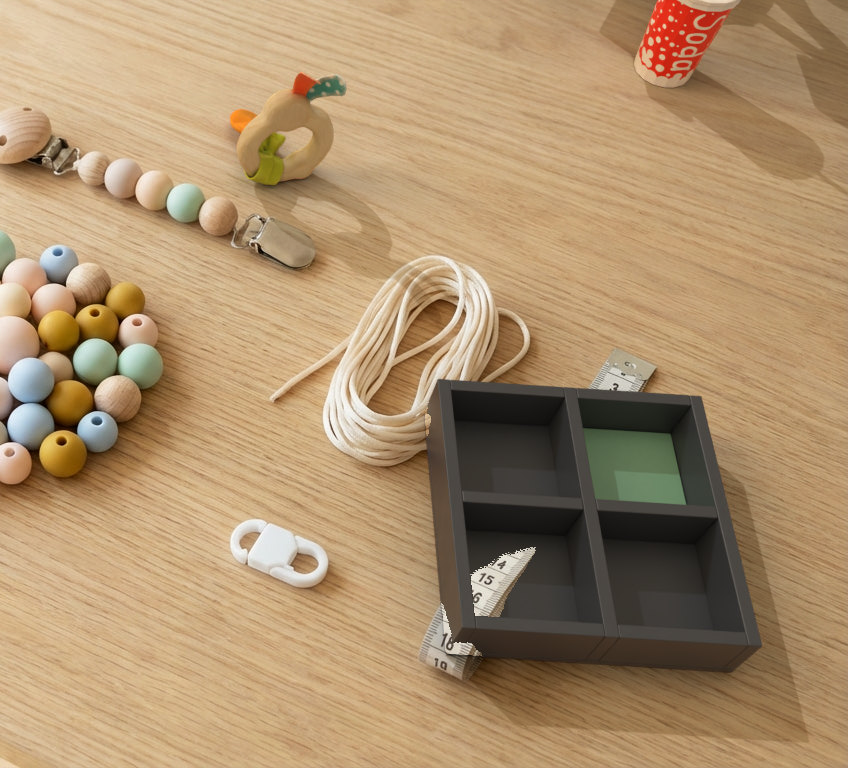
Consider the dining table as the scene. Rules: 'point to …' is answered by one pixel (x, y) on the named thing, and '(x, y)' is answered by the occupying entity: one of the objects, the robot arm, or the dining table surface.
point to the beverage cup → (679, 39)
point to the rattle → (286, 130)
